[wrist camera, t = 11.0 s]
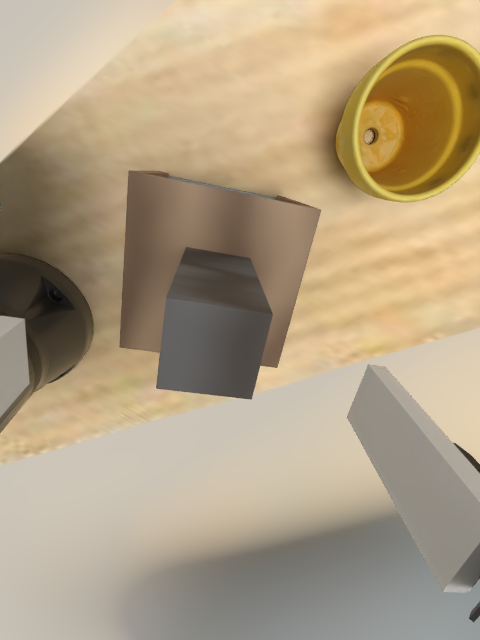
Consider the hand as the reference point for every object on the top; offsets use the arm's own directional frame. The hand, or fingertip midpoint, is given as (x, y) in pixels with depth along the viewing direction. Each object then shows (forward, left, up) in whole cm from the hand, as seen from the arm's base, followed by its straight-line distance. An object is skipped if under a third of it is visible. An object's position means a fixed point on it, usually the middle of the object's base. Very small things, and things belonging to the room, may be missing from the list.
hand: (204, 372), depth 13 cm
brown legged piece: (0, 0, -24) cm, 24 cm away
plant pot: (+13, +13, -25) cm, 31 cm away
